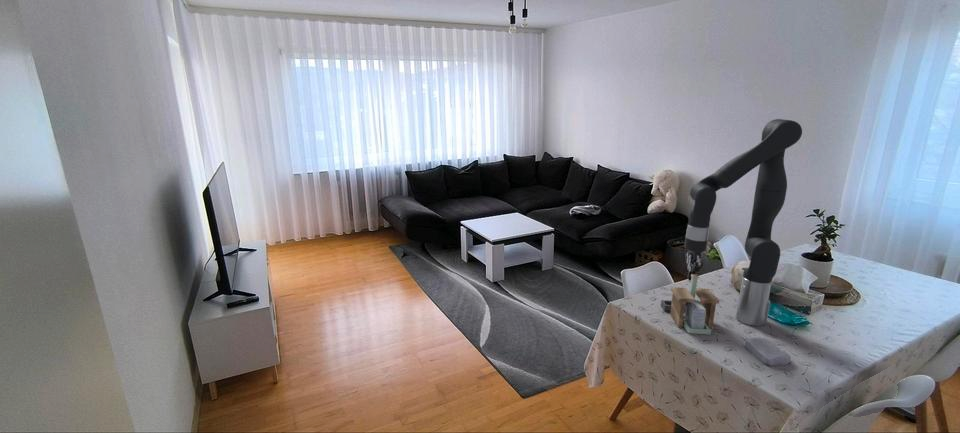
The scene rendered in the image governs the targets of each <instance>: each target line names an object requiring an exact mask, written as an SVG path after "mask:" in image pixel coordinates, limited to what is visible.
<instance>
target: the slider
mask: <svg viewBox="0 0 960 433" xmlns="http://www.w3.org/2000/svg"><path fill="white" fill-rule="evenodd" d="M698 280H699V275H698V274H696V273H695V274H691V281H690V285H689V286H690V287H689V293H690V294H691V295H692V296H693V298H694V299H696V294H695V293H696V288H697V286H698ZM682 327H684V329H685V330H686V332H687V333H688V334H698V335H699V334H700V335H712V334H711V332H712V329H709V327H708V326H707V325H706V323H704V329H692V328H690V327H689V326H688V324H687V323H686V321H685V313H684V319H683V326H682Z"/></svg>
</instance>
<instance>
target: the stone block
mask: <svg viewBox="0 0 960 433" xmlns="http://www.w3.org/2000/svg"><path fill="white" fill-rule="evenodd" d="M743 346H744V349H745V350H746V351H748V352H749V353H750V354H751V355H753V356H754V357H755V358H756V359H758V360H759V361H760V362H761V363H762V364H763V365H766V366H767V367H775V366H787V365H788V364H789V363H790V361H791V355H790V353H788V352H786V350H784V349H781V347H779V346H777V345H776V343H774V342H773V341H771V340H770V339H768V338H764V337H749V338H747V339H746V340H745V341H744V345H743Z"/></svg>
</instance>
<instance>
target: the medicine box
mask: <svg viewBox="0 0 960 433" xmlns="http://www.w3.org/2000/svg"><path fill="white" fill-rule="evenodd" d="M684 314H685V319H684V320H685V321H686V323H687V324H688V326H689V327H690V328H692V329H704V323H705V315H706V309H705V308H704V307H703V305H702V304H701V303H700V300H695V302H687V304H686V312H685V313H684Z"/></svg>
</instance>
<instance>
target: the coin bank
mask: <svg viewBox="0 0 960 433" xmlns="http://www.w3.org/2000/svg"><path fill="white" fill-rule="evenodd" d="M750 261H751V260H741V261H738V262H737V263H736V264H735V265H734V266H733V267H732V268H731V269H730V274H731V276H730V283H731V284H732V286H733V287H734V288H735V289H736V290H737V291H739V292H740V290H741V284H742V278H743V273H744V270H745V269H746V268H749V265H750Z"/></svg>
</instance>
